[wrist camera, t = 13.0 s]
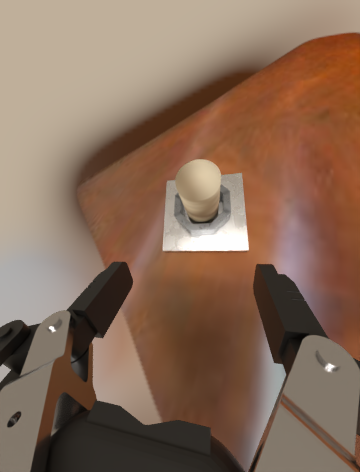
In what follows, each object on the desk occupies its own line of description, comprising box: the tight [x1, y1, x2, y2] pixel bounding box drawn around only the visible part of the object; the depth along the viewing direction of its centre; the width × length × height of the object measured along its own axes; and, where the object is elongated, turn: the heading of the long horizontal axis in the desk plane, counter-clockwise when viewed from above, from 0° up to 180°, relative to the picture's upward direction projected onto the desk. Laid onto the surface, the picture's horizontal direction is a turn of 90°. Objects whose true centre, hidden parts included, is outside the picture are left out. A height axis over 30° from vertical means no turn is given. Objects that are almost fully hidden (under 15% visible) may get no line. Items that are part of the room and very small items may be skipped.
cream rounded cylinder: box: [175, 159, 221, 224], centre depth 22 cm, size 5×5×10 cm
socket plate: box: [163, 173, 249, 252], centre depth 26 cm, size 14×14×4 cm
